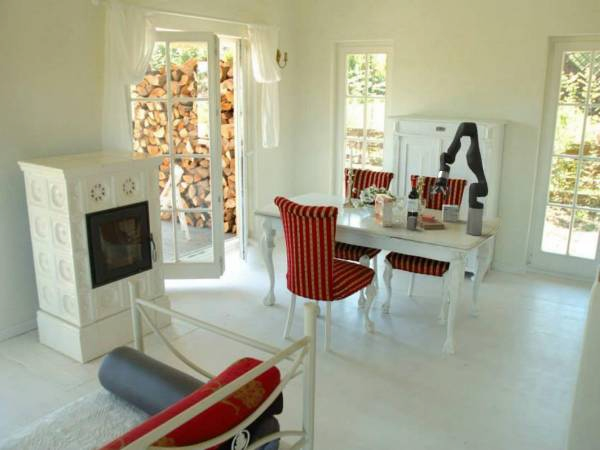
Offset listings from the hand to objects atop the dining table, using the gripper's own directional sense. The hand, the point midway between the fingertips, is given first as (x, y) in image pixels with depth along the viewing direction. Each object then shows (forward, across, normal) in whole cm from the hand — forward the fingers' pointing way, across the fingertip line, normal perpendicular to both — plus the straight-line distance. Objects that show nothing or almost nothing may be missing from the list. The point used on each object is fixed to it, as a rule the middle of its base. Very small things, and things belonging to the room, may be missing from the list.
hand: (437, 200), depth 389 cm
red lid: (+15, -3, +1) cm, 16 cm away
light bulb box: (+6, +4, +21) cm, 22 cm away
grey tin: (+27, -8, -11) cm, 31 cm away
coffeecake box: (+26, -30, -11) cm, 41 cm away
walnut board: (+18, -4, +3) cm, 18 cm away
